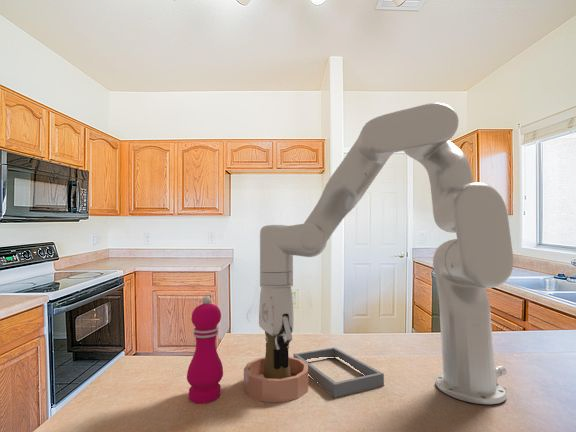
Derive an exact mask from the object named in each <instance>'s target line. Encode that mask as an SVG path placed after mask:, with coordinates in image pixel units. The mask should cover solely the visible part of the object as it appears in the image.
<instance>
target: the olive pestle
mask: <svg viewBox="0 0 576 432" xmlns="http://www.w3.org/2000/svg"><path fill="white" fill-rule="evenodd" d="M280 333H283V330H282V331H280V332H279V334H280ZM264 334H265V338H266V337H267V342H266V343H267V347H266V346H265V356H264V357H265V363H264V371H263V376H264V377H265V378H269V379H282V378H287V377H289V376H290V366H289V358H288V367H287V368H283V367H282V366H281V368H280V369H275V368H274V349H276V348H275V336H271V335H270V334H269V333H267V332H266V331H264ZM281 338H283V336H282V337H279V341H280V339H281Z"/></svg>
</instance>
